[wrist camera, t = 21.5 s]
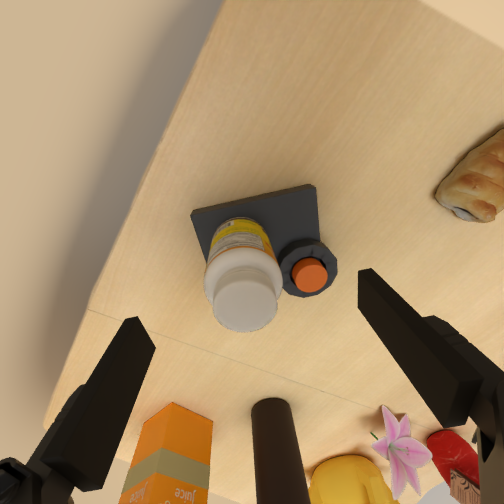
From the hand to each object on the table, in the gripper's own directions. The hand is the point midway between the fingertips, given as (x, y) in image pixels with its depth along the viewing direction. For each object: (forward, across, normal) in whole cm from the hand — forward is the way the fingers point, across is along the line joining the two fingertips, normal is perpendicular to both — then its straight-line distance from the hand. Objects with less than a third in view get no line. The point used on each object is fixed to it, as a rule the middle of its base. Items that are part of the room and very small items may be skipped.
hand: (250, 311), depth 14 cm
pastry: (+13, +24, +1) cm, 28 cm away
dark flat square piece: (+12, +2, -1) cm, 12 cm away
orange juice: (+12, -18, -31) cm, 38 cm away
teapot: (+12, +9, -60) cm, 62 cm away
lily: (+12, +18, -43) cm, 48 cm away
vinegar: (+12, -3, -32) cm, 35 cm away
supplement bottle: (+10, 0, 0) cm, 11 cm away
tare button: (+9, +6, -4) cm, 12 cm away
